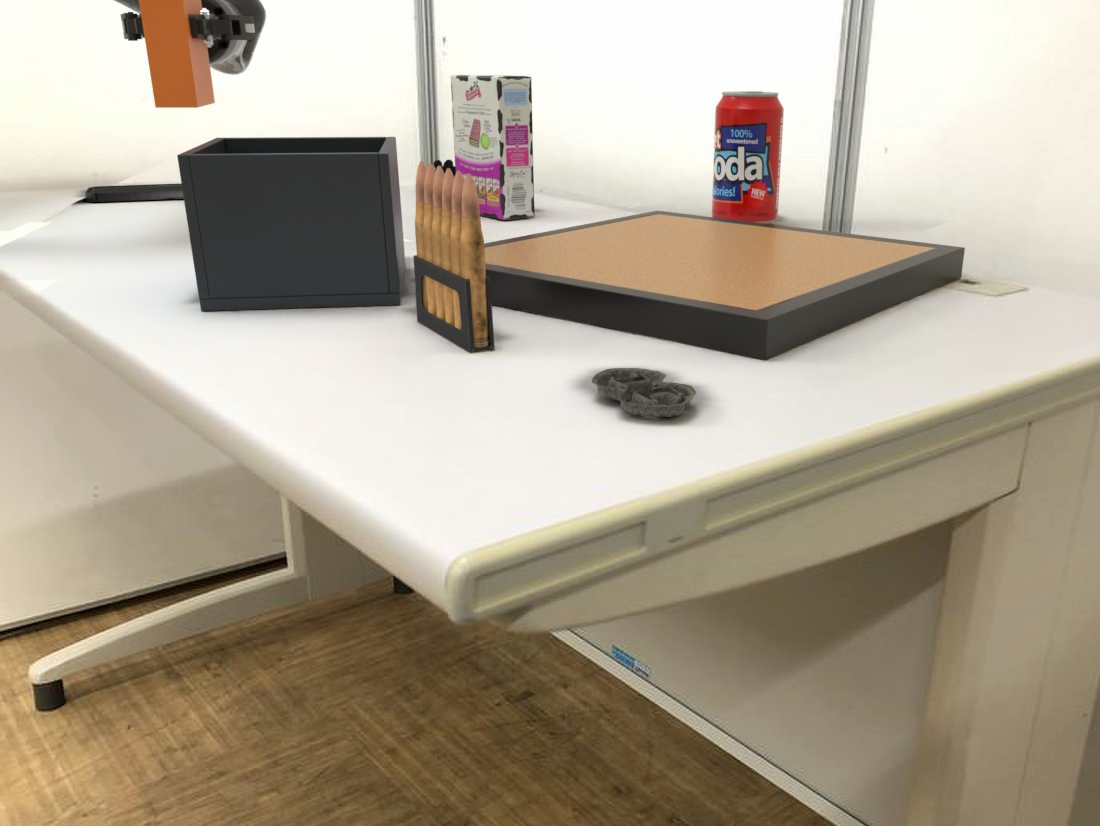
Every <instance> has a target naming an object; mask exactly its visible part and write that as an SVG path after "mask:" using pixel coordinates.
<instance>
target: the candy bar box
mask: <svg viewBox="0 0 1100 826" xmlns="http://www.w3.org/2000/svg"><path fill="white" fill-rule="evenodd" d="M449 78H450V88H451V89H450V90H451V91H450V92H451V109H452V110H451V111H452V112H451V113H452V129H453V131H452V133H453V150H454V151H453V152H454V166H455V173H456V172H457V171H460V172H461V174H462V176H463V178H464V181H465V178H466V175H467V174H468V173H470V174H471V176H472V178H473V180H474V183H475V187H476V190H477V195H478V201H479V212H480V216H482V217H487V218H492V219H497V220H502V221H510V220H519V219H530V218H535V216H536V214H535V183H534V182H535V178H534V177H535V176H534V145H533V143H534V142H533V140H534V132H533V92H532V91H533V90H532V76H527V75H508V74H507V75H506V74H452V75H450V77H449Z"/></svg>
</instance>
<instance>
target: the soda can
mask: <svg viewBox="0 0 1100 826" xmlns="http://www.w3.org/2000/svg"><path fill="white" fill-rule="evenodd" d="M721 95H722V97H721V98H720V100H719V102H718V103H717V104H716V106H715V110H714V111H715V112H714V136H713V137H714V138H713V139H714V140H713V141H714V142H713V171H712V174H713V175H712V197H711V217H715V218H723V219H731V220H740V221H748V222H756V223H765V224H772V223H774V222H775V221H777V219H778V216H779V215H778V214H779V201H780V199H779V198H780V185H781V184H780V183H781V167H782V166H781V163H782V146H783V131H784V114H785V113H784V112H785V110H784V106H783V104H782V103H781V101H780V99H779V92H775V91H774V92H773V91H763V90H762V91H761V90H757V91H756V90H746V91H743V90H742V91H739V90H738V91H737V90H735V91H722V92H721Z"/></svg>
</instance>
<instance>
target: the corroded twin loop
mask: <svg viewBox="0 0 1100 826" xmlns="http://www.w3.org/2000/svg"><path fill="white" fill-rule="evenodd" d="M666 377H667V375H666V374H665V373H663V372H661V371H659V370H653V369H649V368H648V369H647V368H640V367H613V368H606V369H604V370H601V371H600V372H597V373H596V374H595V375H594V376H593V377H592V379H591V383H592V384H594V385H595V386H596V387H597V393H598V394H599V395H601V396H602V397H603V398H609V399H611V400H616V401H617V400H618V401H619V404H620V409H621V410H622V412H623V411H624V412H625V413H627V414H628V415H636V416H641V417H650V418H651V417H653V418H663V417H665V418H666V417H667V418H672V417H677V416H681V414H683V413H684V412H685V411H686V408H688V407H689V406H690V404H691V401H693V398H694V397H695V395H696V394H697V391H696V390H695V388H694V387H693V386H691V385H690V384H685V383H679V382H671V381H670V382H668V381H664V379H665V378H666Z"/></svg>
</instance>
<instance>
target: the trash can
mask: <svg viewBox="0 0 1100 826" xmlns="http://www.w3.org/2000/svg"><path fill="white" fill-rule="evenodd" d="M396 138H397V137H396V136H304V137H303V136H297V137H296V136H287V137H286V136H284V137H280V136H279V137H278V136H277V137H269V136H267V137H266V136H265V137H215V138H213V139H211V140H208V141H206V142H204V143H202V144H200V145H197V146H194V147H192V148H190V149H188V150H186V151H184V152H181V153H178V154H177V155H176V156H177V164H178V170H179V176H180V184H182V190H183V197H184V199H183V203H184V209H185V214H186V222H187V229H188V236H189V242H190V248H191V255H192V261H193V268H194V275H195V281H196V287H197V288H196V289H197V294H198V295H197V296H198V300H199V306H200V311H201V312H219V311H250V310H281V309H282V310H284V309H285V310H286V309H315V308H319V309H320V308H348V307H349V308H350V307H377V306H379V307H380V306H381V307H382V306H383V307H384V306H400V305H401V303H402V295H403V289H404V281H405V277H406V276H405V275H406V257H405V256H406V253H405V239H404V228H403V215H402V202H401V201H402V200H401V189H400V187H401V186H400V176H399V162H398V148H397V139H396Z"/></svg>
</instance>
